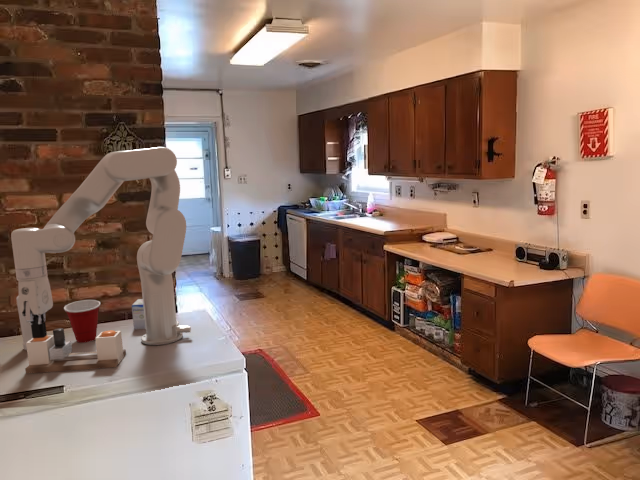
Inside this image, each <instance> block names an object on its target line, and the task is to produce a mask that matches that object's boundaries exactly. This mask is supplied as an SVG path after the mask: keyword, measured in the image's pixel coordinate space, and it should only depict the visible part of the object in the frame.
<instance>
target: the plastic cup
mask: <svg viewBox="0 0 640 480" xmlns="http://www.w3.org/2000/svg"><path fill="white" fill-rule="evenodd" d="M100 306H101V301H99V300H96V299H83V300H78V301H73V302H71V303H68V304H65V305H64V307H63V310H64V311H65V312H66V315H67V317H68V319H69V323H70V326H71V330H72V333H73V335H74V338H75V340H76V342H77V343H80V344H83V343H84V344H85V343H90V342H93V341H96V339H95V338H96V337H97V334H98V333H97V331H98V330H97V329H98V322H99V321H98V319H99V318H98V317H99V310H100Z"/></svg>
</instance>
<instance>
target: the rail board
mask: <svg viewBox="0 0 640 480" xmlns="http://www.w3.org/2000/svg"><path fill="white" fill-rule="evenodd" d="M122 354H124V357H125V356H126V355H127V352H126V349H124V348H123V353H122ZM122 360H123V359H121V361H122ZM118 365H119V364H118V359H111V360H98V357H97V350H95V351H83V352H82V351H81V352H71V353H69V354H68V355H67V356H66V357H65V358H64V359H54V360H53V361H52V362H51V363H50V364H40V365H29V364H28V365H27V366H26V367H25V368H24V369H25V374H39V373H42V374H43V373H54V372H57V373H58V372H67V371H69V372H70V371H81V370H83V371H84V370H96V369H97V370H98V369H112V368H116V367H118Z"/></svg>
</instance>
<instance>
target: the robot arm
mask: <svg viewBox="0 0 640 480" xmlns="http://www.w3.org/2000/svg"><path fill="white" fill-rule="evenodd" d="M177 164H178V160H177V156H176V154H175V152H174V151H172V150H171V149H170V148H168V147H165V146H157V147H150V148H139V149H133V150H132V149H130V150H118V151H117V150H116V151H111V152H108V153H107V154H105V155H104V156H103V157H102V158H101V160H100V161H98V163H97V164H96V166H94V168H93V170H92V171H90V173H89V174H88V176H87V177H86V178H85V180H83V182H81V184H80V185H79V187H77V189H76V190H75V191H74V192H73V193H72V194H71V195H70V197H69V198H68V199H66V201H65V202H64V203H63V204H62V205H61V206H60V208H58V210H57V211H55V213H54V215H53V216H51V218H50V220H49V221H47V223H46V224H45V225H44V227H43V228H38V227H25V228H24V227H23V228H18V229H14V230H13V231H12V232H11V235H10V236H11V237H10V239H11V240H10V241H11V244H12V245H11V247H12V253H13V254H12V255H13V261H14V268H15V269H14V270H15V276H16V277H15V278H16V281H18V287H17V288H18V295H19V304H20V311H21V315H22V316H26V322H30V325H31V329H32V337H33V338H44V337H45V336H46V335H47V334H48V333H47V327H46V326H47V324H46V320H47V317H46V313H47V312H48V311H49V310H51V309H52V308H53V307H54V302H53V301H54V300H53V295H52V290H51V289H52V288H51V284H50V280H49V277H48V267H47V262H46V261H47V260H46V253H49V254H52V253H59V254H60V253H61V254H62V253H65V252H68V251H70V250H71V249H72V248H73V247H74V245H75V243H76V235H75V232H76V231H77V230H78V228H79V227H80V226H81V225H82V224H83V223H84V222H85V220H87V219H88V218H90V217H91V216H92V215H94V214H96V213H98V212H99V211H100V210H102V209H103V208H104V207H105V206H106V205H107V203H108V202H109V201H110V199H111V198H112V196H114V194H115V193H116V192H117V190H118V189H119V188H120V187H121V185H122V184H123V183H124V182H127V181H139V180H144V179H145V180H146V179H149V181H150V184H151V194H150V199H149V204H148V210H147V215H146V221H145V226H146V228H147V231H148V232H149V233H150V234H152V237H151V238H152V239H151V240H148V241H145V242H143V243H142V244H141V245H140V247H139V248H138V250H137V254H136V261H137V262H136V263H137V268H138V272H139V273H138V274H139V278H140V283H141V294H142V295H141V296H142V299H143V307H144V317H145V327H146V329H145V334H143V335H142V336H141V342H142V344H144V345H147V346H148V345H149V346H160V345H167V344H171V343H175V342H177V341H179V340H181V339H183V333H184V334H188V333H189V334H190V333H191V332H192V327H191V325H190V326H189V325H188V324H186V325H181V324H180V321H178V320H177V313H176V301H175V290H174V280H173V273H174V272H175V271H177V269H178V267H179V266H180V263H181V259H182V255H183V249H184V243H185V239H186V234H187V232H186V231H187V220H186V218H185V215H184V213H183V212H181V211H180V210H179V202H180V196H181V194H180V193H181V183H180V179H179V176H178V174H177V171H176V170H175V169H176V167H177ZM47 336H48V335H47Z"/></svg>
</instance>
